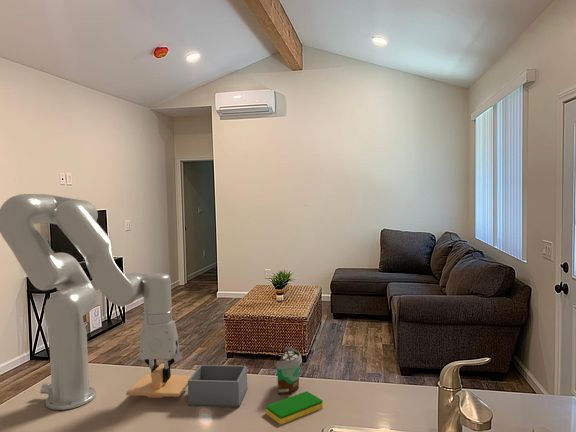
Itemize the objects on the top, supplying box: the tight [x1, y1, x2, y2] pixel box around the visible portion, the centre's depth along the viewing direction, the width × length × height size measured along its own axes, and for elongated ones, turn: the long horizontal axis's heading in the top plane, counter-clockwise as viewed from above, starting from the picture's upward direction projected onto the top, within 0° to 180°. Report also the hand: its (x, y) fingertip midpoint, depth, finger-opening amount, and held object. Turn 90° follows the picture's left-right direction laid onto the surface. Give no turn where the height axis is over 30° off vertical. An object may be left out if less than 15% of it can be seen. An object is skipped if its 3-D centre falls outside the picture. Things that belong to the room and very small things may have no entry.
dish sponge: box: [265, 391, 324, 425], centre depth 113 cm, size 7×14×2 cm, turn 126°
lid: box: [125, 362, 193, 399], centre depth 123 cm, size 15×12×6 cm
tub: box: [187, 364, 248, 409], centre depth 121 cm, size 14×11×7 cm
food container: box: [275, 347, 303, 396], centre depth 126 cm, size 12×6×10 cm, turn 168°
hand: (161, 380), depth 123 cm, fingers closed on lid
